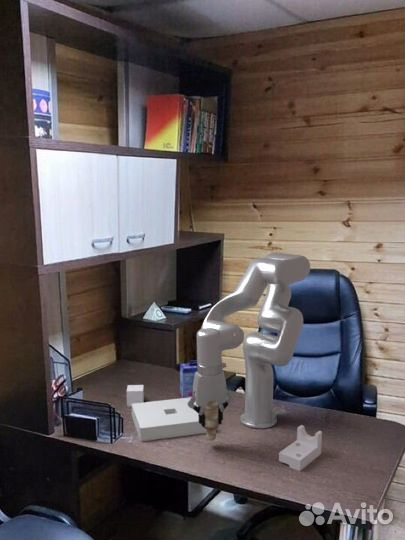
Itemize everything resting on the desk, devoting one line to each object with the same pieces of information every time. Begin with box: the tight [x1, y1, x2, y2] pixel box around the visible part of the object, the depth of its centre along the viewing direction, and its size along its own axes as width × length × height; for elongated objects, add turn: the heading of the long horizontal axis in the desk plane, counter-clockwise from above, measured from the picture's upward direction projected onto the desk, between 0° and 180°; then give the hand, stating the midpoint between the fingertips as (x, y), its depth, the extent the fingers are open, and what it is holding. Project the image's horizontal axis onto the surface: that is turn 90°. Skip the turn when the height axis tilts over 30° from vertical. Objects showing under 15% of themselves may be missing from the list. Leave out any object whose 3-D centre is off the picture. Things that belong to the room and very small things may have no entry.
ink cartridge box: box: [179, 359, 198, 398], centre depth 212 cm, size 10×6×14 cm, turn 107°
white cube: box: [126, 384, 145, 407], centre depth 205 cm, size 6×6×6 cm
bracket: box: [278, 424, 323, 472], centre depth 164 cm, size 13×7×8 cm, turn 140°
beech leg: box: [203, 401, 220, 441], centre depth 170 cm, size 5×5×13 cm
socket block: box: [131, 397, 206, 442], centre depth 188 cm, size 24×20×4 cm
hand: (210, 423), depth 170 cm, fingers closed on beech leg, 4 cm apart
